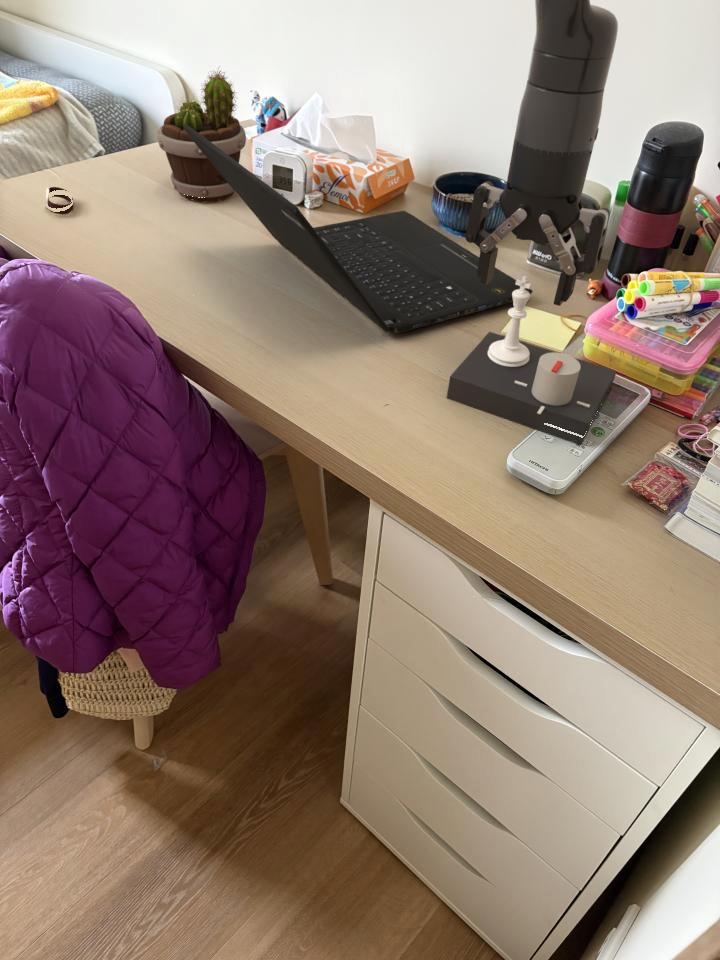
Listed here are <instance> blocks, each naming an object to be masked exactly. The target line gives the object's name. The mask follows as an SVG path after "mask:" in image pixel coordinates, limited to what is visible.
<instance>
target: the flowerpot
mask: <svg viewBox="0 0 720 960" xmlns="http://www.w3.org/2000/svg"><path fill="white" fill-rule="evenodd" d="M220 67H221V65H219V66H218V68H217V71H215V70H214V69H212V70H209V72H211V73H212V74H211V75H210V74H208V75H206V76H207V77H206V78H205V79H206V80H205V79H204V80H203V82H204V83H203V84H200V87H201V88H200V89H199V91H203V93H200V94H199V95H200V96H199V99H200V101H198V102H197V101H193V100H194V97H192V98H191V99H187V100H185V101H184V100H183V101H181V103H182V105H181V104H179V106H175V108H176V109H177V110H178V112H174V113H173V114H170V115H168V116H167V117H165V119H164V120H163V124H162V125H161V126H160V127H159V128H158V129H157V132H156V135H157V142H158V146H159V148H160V149H161V150H162V151H164V152H165V155H166V159H167V161H168V165H169V167H170V169H171V174H170V180H171V183H172V186H173V188H174V190H175V191H177V192H178V194H179V195H180V196H183V197H184V199H185V200H187V201H193V202H196V203H216V202H220V201H222V202H223V201H225V200H227V199H228V200H229V199H230V198H231V197H233V196H234V195H235V193H236V192H235V191H234V190H233V188H232V187H231V186H230V185H229V184H228V183H227V181H226V180H225V179H224V178H223V177H222V175H221V174H220V173H219V172H218V171H217V169H216V168H215V167H214V166H213V165H212V163H211V162H210V161H209V160H208V158H207V157H206V156H205V155H204V154H203V152H202V151H201V150H200V149H199V148H198V146H197V145H196V144H195V143H194V141H193V140H192V139H191V138H190V137H189V135H188V133H187V132H186V130H185V129H184V124H187V125H188V126H190V127H191V128H193V129H194V130H195V131H197V132H198V133H199V134H201V135H202V136H203V137H205V138H206V139H207V140H209V141H210V142H212V143H213V144H214V145H216V146H217V147H218V148H220V149H221V150H222V151H223V152H225V153H226V154H227V155H229V156H230V157H231V158H233V159H234V160H235V161H237V162H238V163H239V164H240V160H241V152H242V150H243V149H244V147H245V146H246V143H247V136H246V135H247V134H246V131H245V128H244V126H242V125H241V124H240V121H239V119H238V118H236V117H235V115H236V111H237V110H238V109H237V108H236V107H237V100H236V99H239V98H238V97H237V96H236V94H238V92H236V91H234V89H233V85H234V82H230V80H229V81H228V80H227V79H230V78H229V76H225V75H226V72H225V71H223V72H222V70H219V69H220ZM184 98H185V99H186V97H184V96H183V99H184ZM199 102H200V103H199ZM202 104H203V105H202ZM201 105H202V106H201ZM204 106H205V107H204ZM233 113H234V114H233ZM184 194H185V195H184ZM187 195H188V196H187ZM192 196H193V197H192ZM198 197H200V198H198ZM201 197H203V198H201ZM204 197H205V198H204Z"/></svg>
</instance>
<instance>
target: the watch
mask: <svg viewBox="0 0 720 960" xmlns="http://www.w3.org/2000/svg"><path fill="white" fill-rule="evenodd" d="M54 190H55V191H56V190H65V191H68V190H66V189H65V188H62V187H59V186H58V187H57V186H47V187H46V188H45V200H46V201H45V202H44V203H47V204H48V206H49V207H51V208H56V209H57V208H63V207H66V206H68V205H70V204H71V203H72V202H71V199H70V198H69V197H68V196H65V195H54V196H52V197H51V198H61V199H62V200H65V201H67V202H68V203H67V204H58V203H54V202H52V201H51V200H50V198H49V193H50V192H52V191H54ZM70 202H71V203H70ZM44 209H46V210H49V209H48V208H47V207H45V206H44ZM72 211H74V204H73V205H72V206H71V207H70V208H69V209H67V210H65V211H60V212H53V211H50V212H51V213H53V214H56V215H68V214H70V213H72Z"/></svg>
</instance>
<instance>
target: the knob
mask: <svg viewBox="0 0 720 960" xmlns="http://www.w3.org/2000/svg"><path fill="white" fill-rule="evenodd" d="M556 352H557V351H554V352H552V353H546V354H544V355H542V356H541V357H540V359H539V363H538V367H537V371H536V375H535V379H534V383H533V387H532V394H533V396H534V397H535V398H536V399H537V400H538V401H540V402H542V403H545V404H548V405H554V406H559V405H565V404H567V403H569V402H570V401H571V399H572V396H573V392H574V389H575V385H576V382H577V379H578V375H579V372H580V368H581V365H580V363H579V362H578V361H577V360H576V359H577V358H576V357H573V356H572V355H570V354H567V353H562V352H557V353H556ZM575 358H576V359H575Z"/></svg>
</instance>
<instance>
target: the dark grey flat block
mask: <svg viewBox="0 0 720 960" xmlns="http://www.w3.org/2000/svg"><path fill="white" fill-rule="evenodd" d="M505 337H506V335H502V334H498V333H496V332H492V331H488V333H487V334H485V336H484V337H483V338H482V340H480V341H479V343H478V344H477V345H476V346H475V347H474V349H472V351H471V352H470V353H469V354H468V355H467V357H465V359H464V360H463V361H462V362H461V363H460V364H459V366H457V368H456V369H455V370H454V372H452V373H451V375H450V376H449V381H448V388H447V392H446V393H447V394H446V399H449V400H451V401H455V402H457V403H460V404H463V405H466V406H468V407H472V408H473V409H477V410H479V411H480V410H481V411H483V412H485V413H487V414H492V415H495V416H497V417H500V418H503V419H506V420H508V421H512V422H514V423H517V424H520V425H523V426H525V427H528V428H531V429H534V430H537V431H539V432H542V433H546V434H548V435H551V436H554V437H557V438H560V439H563V440H565V441H568V442H571V443H574V444H576V445H579V446H582V444H583V442H584V440H585V438H586V437H587V435H588V433H589V431H590V429H591V427H592V425H593V423H594V422H595V419H596V418H597V416H598V414H599V412H600V411H601V409H602V407H603V405H604V403H605V402H606V400H607V398H608V396H609V394H610V392H611V390H612V388H613V387H612V386H613V384H614V380H615V378H616V374H617V372H618V371H617V370H615V369H612V368H609V367H605V366H603V365H598V364H595V363H593V362H589V361H586V360H583V359H579V358H576V357H574V358H575V359H576V360H577V361H578V362H579V363H580V365H581V368H580V372H579V375H578V379H577V382H576V385H575V389H574V392H573V396H572V399H571V401H570V402H569V403H567V404H565V405H559V406H554V405H548V404H545V403H542V402H540V401H538V400H537V399H536V398H535V397H534V396H533V394H532V387H533V383H534V379H535V375H536V371H537V367H538V363H539V359H540V357H541V356H542V355H544V354H546V353H552V352H556V353H558V352H557V351H555V350H551V349H547V348H543V347H541V346H537V345H534V344H531V343H527V342H524V341H521V340H519V342H520V343H521V344H523V345H524V346H526V347H527V348H528V350H529V353H530V355H529V361H528V362H527V363H526V364H524V365H522V366H518V367H508V366H503V365H500V364H497V363H495V362H494V361H492V360H491V359H490V358H489V356H488V350H489V347H490V345H491V344H492V343H494V342H496V341H499V340H503V339H505ZM601 404H602V405H601ZM597 411H598V412H597ZM596 413H597V414H596ZM595 415H596V416H595ZM592 420H593V421H592ZM591 422H592V423H591ZM544 423H548V424H552V425H554V426H557V427H560V428H562V429H565V430H568V431H571V432H574V433H577V434H579V435H582V436H584V435H585V436H584V437H583V438H581V437H579V436H576V435H573V434H570V433H567V432H564V431H561V430H558V429H556V428H553V427H550V426H547V425H544ZM590 424H591V425H590ZM586 431H587V432H586ZM585 433H586V434H585Z"/></svg>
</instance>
